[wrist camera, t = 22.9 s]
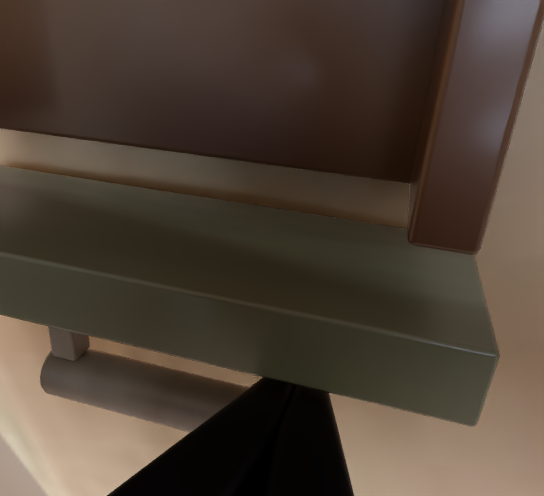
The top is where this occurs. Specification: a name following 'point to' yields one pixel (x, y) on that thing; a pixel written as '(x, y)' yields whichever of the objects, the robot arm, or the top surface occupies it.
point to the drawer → (258, 219)
